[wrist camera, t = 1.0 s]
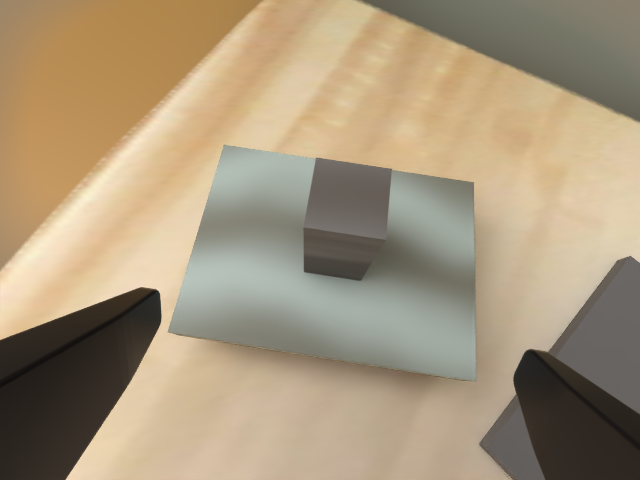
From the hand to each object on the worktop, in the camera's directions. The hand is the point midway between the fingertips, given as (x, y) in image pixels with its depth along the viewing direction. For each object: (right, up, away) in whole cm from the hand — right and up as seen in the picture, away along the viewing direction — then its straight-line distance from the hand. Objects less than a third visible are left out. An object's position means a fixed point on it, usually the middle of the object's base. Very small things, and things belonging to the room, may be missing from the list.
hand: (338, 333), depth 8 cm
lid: (0, +1, +12) cm, 12 cm away
